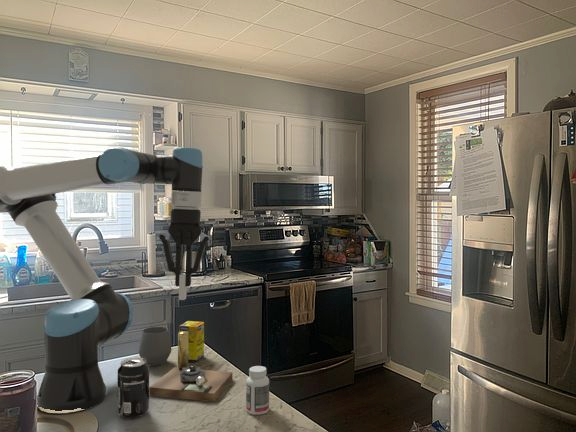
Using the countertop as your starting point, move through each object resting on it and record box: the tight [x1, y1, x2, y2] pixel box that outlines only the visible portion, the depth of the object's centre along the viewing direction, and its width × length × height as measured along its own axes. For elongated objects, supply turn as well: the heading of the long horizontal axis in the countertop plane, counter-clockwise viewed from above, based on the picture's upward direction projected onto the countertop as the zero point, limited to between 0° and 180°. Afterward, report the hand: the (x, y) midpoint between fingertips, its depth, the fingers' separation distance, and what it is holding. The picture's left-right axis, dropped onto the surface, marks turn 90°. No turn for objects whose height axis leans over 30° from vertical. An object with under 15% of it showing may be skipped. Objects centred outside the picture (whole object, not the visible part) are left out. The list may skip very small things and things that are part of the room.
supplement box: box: [178, 320, 205, 363], centre depth 141 cm, size 6×6×11 cm
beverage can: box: [117, 357, 150, 420], centre depth 104 cm, size 7×7×12 cm
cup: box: [138, 326, 172, 367], centre depth 137 cm, size 10×9×10 cm
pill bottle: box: [245, 365, 270, 416], centre depth 107 cm, size 5×5×10 cm
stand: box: [149, 366, 233, 403], centre depth 120 cm, size 17×14×2 cm
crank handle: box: [177, 331, 205, 387], centre depth 121 cm, size 18×6×10 cm, turn 29°
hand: (182, 298), depth 119 cm, fingers closed
